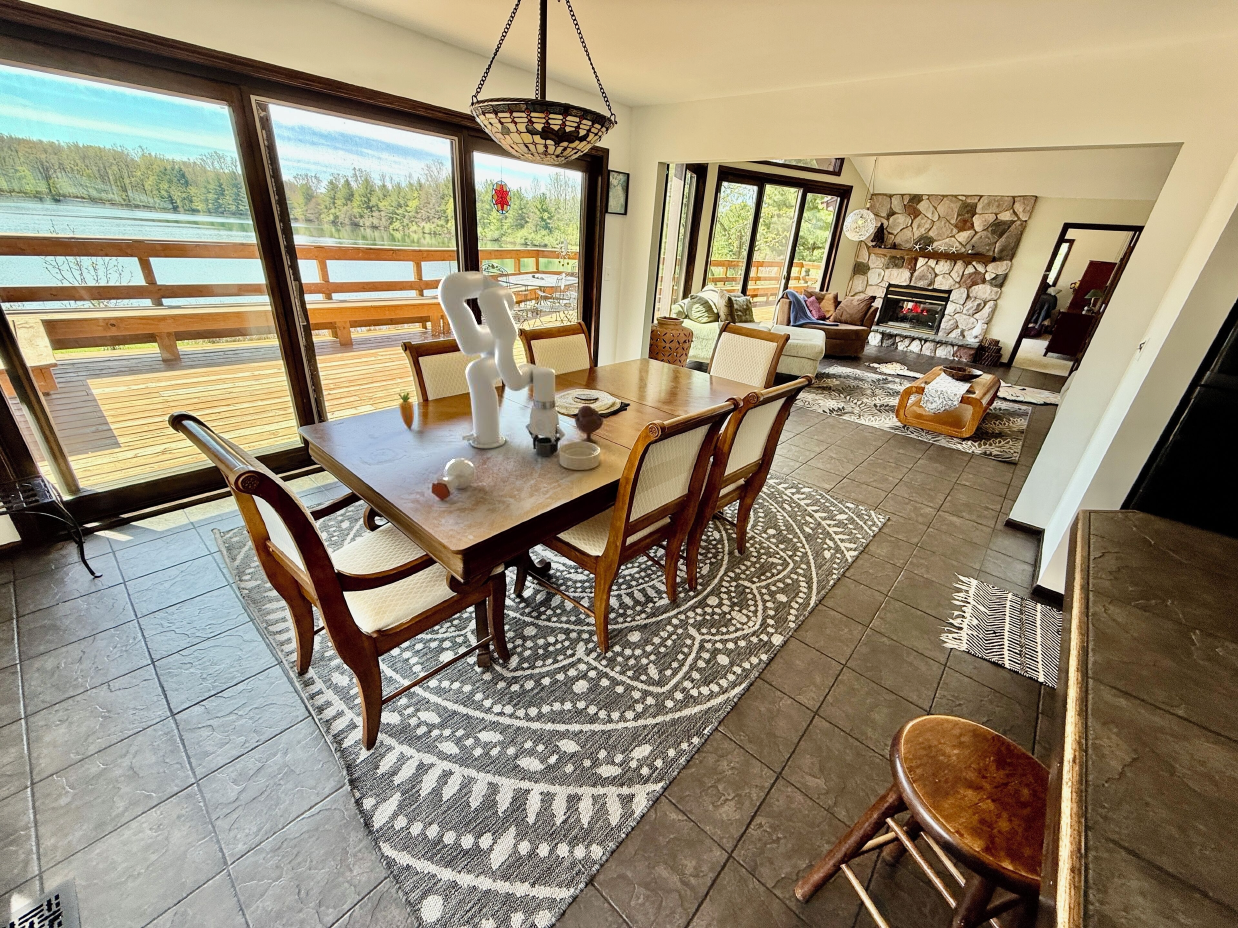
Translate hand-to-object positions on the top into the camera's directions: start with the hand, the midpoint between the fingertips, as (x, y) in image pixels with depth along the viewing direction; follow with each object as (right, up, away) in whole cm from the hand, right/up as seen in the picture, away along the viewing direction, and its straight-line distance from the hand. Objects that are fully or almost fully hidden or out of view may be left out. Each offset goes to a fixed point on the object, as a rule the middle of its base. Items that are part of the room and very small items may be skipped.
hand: (545, 450), depth 174 cm
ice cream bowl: (+15, +3, +12) cm, 19 cm away
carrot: (-56, +9, +15) cm, 59 cm away
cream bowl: (+13, -4, -5) cm, 14 cm away
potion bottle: (-23, -13, -27) cm, 38 cm away
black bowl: (0, -1, +1) cm, 1 cm away
